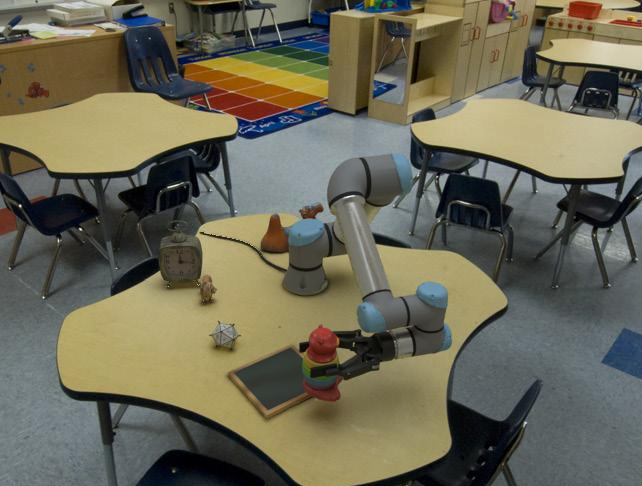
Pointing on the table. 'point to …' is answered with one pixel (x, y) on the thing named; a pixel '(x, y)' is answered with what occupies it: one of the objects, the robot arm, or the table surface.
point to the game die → (225, 335)
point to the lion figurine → (207, 288)
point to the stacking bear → (319, 355)
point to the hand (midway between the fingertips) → (305, 360)
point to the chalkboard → (273, 381)
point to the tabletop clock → (180, 257)
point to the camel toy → (285, 229)
